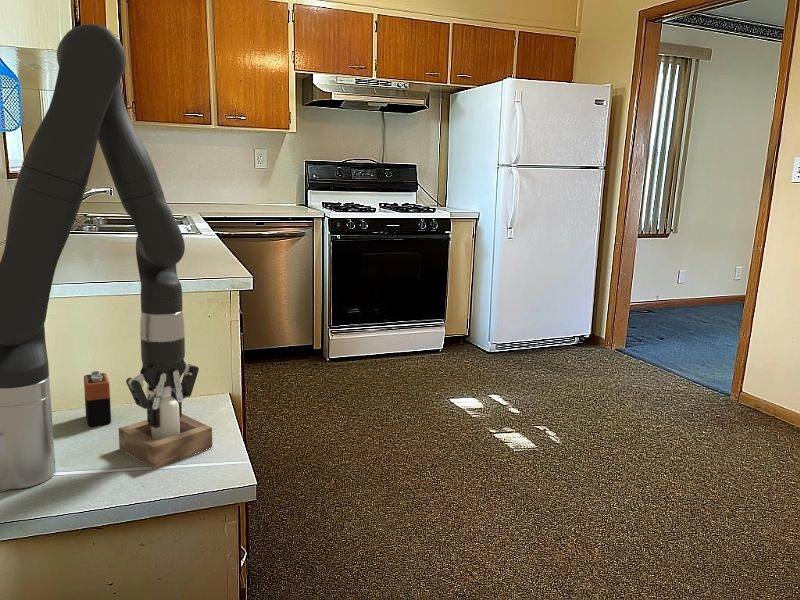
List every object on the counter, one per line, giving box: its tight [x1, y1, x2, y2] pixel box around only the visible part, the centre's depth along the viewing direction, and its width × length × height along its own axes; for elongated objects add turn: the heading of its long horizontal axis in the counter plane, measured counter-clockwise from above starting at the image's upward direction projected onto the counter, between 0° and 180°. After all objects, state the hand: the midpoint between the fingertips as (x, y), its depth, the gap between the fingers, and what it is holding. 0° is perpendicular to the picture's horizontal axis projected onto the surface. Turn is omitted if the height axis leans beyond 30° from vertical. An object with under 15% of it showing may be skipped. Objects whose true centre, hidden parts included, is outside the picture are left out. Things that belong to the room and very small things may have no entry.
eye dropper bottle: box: [151, 386, 180, 440], centre depth 115 cm, size 4×6×12 cm
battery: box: [83, 370, 112, 427], centre depth 128 cm, size 4×7×10 cm, turn 30°
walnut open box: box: [118, 413, 213, 470], centre depth 117 cm, size 12×12×4 cm
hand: (165, 422), depth 116 cm, fingers closed on eye dropper bottle, 3 cm apart
